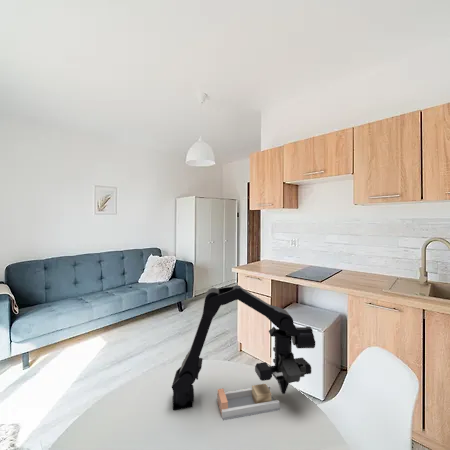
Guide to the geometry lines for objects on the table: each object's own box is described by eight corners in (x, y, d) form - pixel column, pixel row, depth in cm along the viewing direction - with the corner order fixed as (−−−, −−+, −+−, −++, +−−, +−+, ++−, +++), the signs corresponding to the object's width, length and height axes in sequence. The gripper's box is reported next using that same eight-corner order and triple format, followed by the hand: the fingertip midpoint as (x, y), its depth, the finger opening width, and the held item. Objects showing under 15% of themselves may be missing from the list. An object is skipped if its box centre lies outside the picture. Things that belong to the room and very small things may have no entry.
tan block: (257, 407, 78) (257, 395, 78) (252, 397, 83) (252, 385, 83) (271, 405, 79) (271, 393, 80) (265, 395, 84) (265, 383, 84)
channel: (222, 423, 73) (222, 407, 73) (216, 400, 83) (216, 386, 83) (280, 413, 77) (280, 397, 78) (268, 392, 87) (268, 378, 87)
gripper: (267, 363, 73) (267, 415, 73) (321, 356, 78) (321, 405, 77) (254, 346, 84) (254, 391, 84) (302, 340, 88) (302, 383, 88)
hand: (283, 393), depth 83 cm, fingers closed
